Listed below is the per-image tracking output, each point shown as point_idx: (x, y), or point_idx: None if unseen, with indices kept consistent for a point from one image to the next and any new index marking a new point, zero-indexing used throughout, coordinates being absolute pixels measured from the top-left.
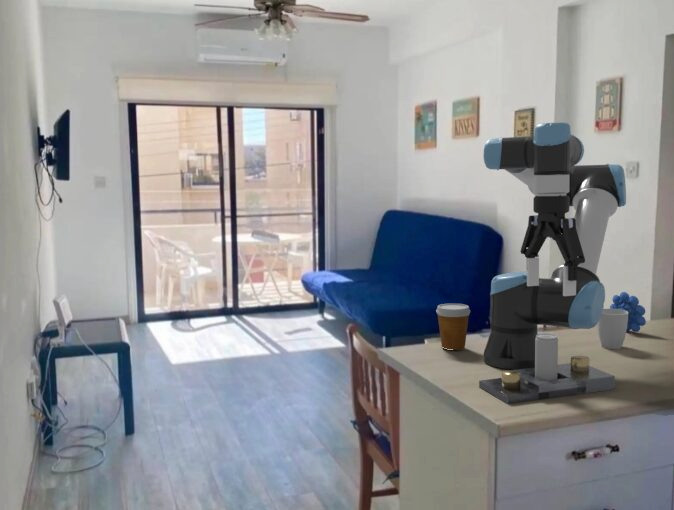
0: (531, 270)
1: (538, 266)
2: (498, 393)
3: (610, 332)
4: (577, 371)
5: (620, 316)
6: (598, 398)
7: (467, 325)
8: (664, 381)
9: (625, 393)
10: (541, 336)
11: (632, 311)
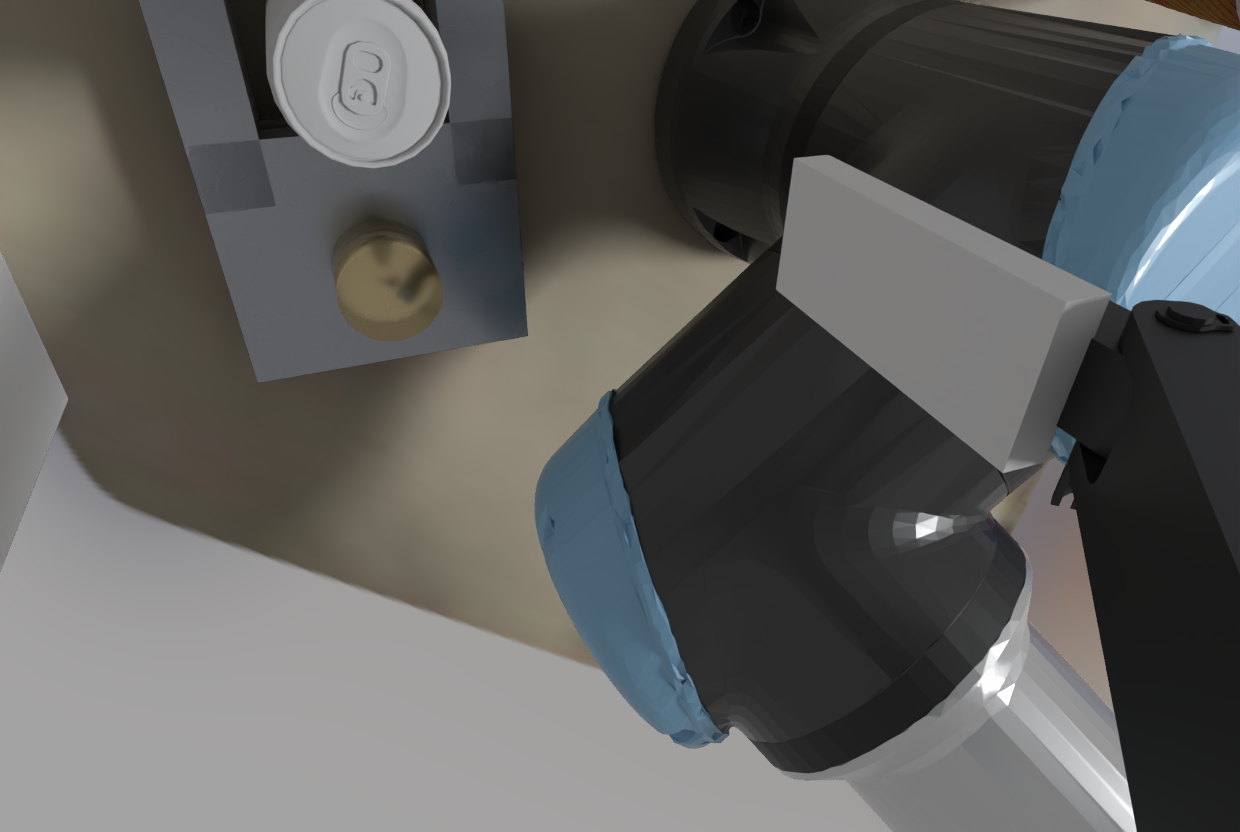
0: (907, 267)
1: (916, 394)
2: None
3: None
4: (346, 236)
5: None
6: (106, 205)
7: (1186, 10)
8: (333, 566)
9: (184, 366)
10: (379, 40)
11: None
